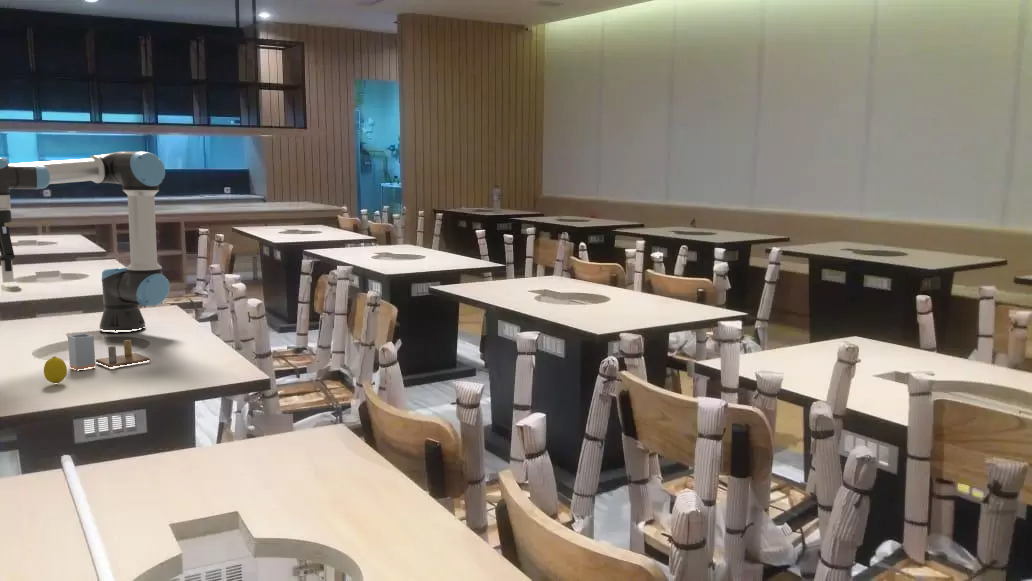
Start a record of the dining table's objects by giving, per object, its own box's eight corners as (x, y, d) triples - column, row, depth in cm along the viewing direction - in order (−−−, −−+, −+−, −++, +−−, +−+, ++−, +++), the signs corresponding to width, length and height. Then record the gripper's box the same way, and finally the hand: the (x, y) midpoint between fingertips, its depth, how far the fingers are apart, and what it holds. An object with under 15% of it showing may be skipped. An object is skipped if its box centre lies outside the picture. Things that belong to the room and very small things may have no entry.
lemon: (44, 388, 221) (42, 359, 220) (45, 383, 226) (43, 355, 225) (67, 385, 224) (65, 357, 222) (68, 381, 228) (66, 353, 227)
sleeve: (88, 365, 246) (86, 333, 244) (95, 368, 242) (93, 335, 241) (70, 368, 242) (67, 335, 240) (77, 371, 238) (74, 338, 237)
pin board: (135, 357, 257) (134, 337, 256) (150, 362, 250) (149, 342, 249) (96, 364, 248) (94, 343, 247) (110, 369, 241) (108, 348, 240)
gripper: (-31, 207, 248) (-25, 276, 252) (-6, 211, 232) (-1, 285, 235) (-3, 207, 254) (2, 274, 257) (23, 211, 237) (28, 282, 240)
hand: (1, 279), depth 246 cm, fingers open, 13 cm apart
